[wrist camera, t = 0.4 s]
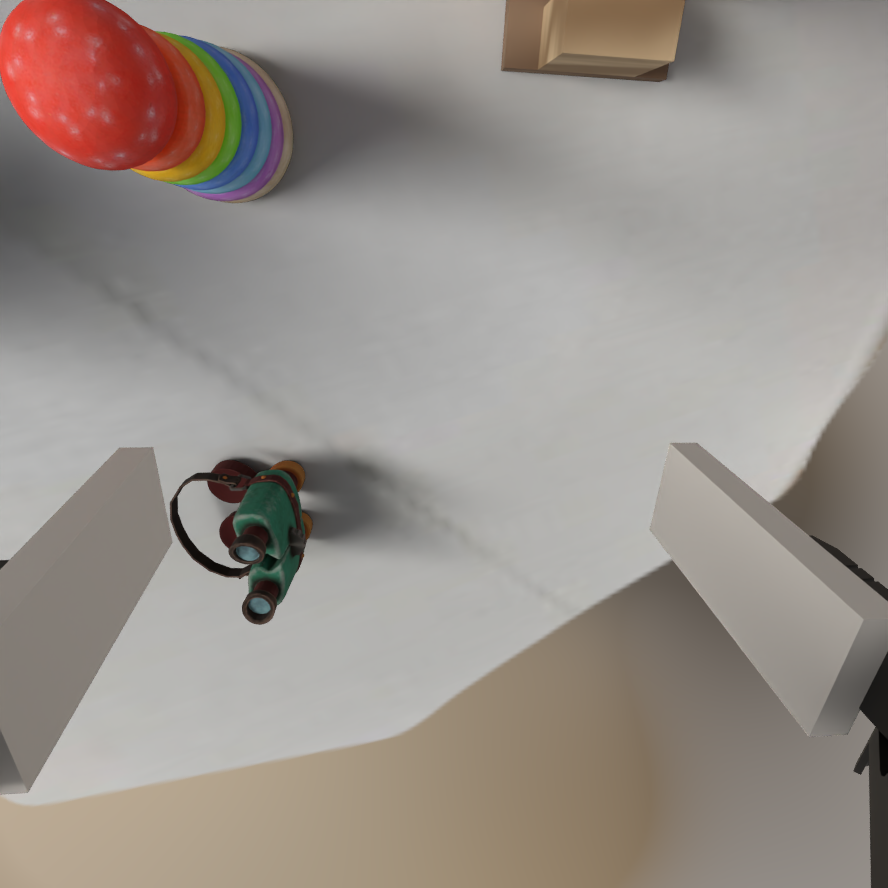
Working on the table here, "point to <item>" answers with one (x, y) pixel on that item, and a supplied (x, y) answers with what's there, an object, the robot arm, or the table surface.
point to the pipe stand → (592, 37)
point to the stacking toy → (144, 99)
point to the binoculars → (256, 530)
